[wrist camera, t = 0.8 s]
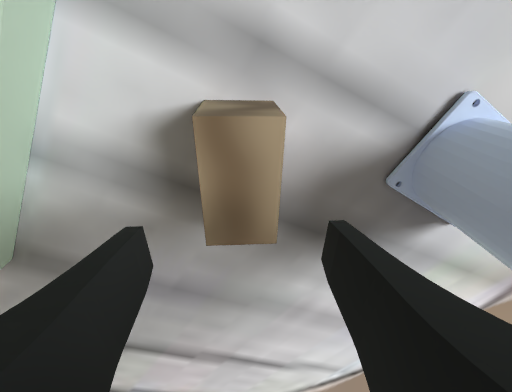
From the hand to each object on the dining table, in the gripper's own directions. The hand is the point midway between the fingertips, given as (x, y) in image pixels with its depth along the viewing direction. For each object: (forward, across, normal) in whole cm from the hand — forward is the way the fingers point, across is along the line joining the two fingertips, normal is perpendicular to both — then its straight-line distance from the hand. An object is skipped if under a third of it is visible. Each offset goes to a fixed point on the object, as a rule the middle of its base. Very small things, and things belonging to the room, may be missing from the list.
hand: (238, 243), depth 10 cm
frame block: (+10, 0, 0) cm, 10 cm away
